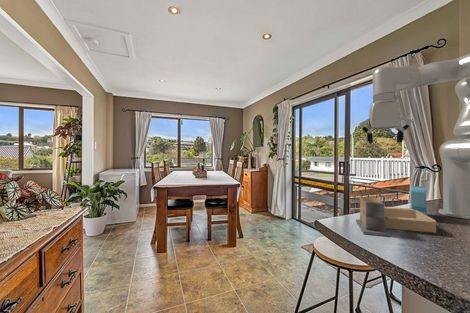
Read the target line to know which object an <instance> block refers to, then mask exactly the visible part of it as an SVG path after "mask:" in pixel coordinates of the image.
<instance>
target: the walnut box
mask: <svg viewBox="0 0 470 313" xmlns="http://www.w3.org/2000/svg"><path fill="white" fill-rule="evenodd" d="M384 207H385V203H383V202H382V201H380V199H378V198H376V197H361V196H359V220H360V222H361V223H362V224H363V226H364V227H365V229H366V230H372V231H382V232H384V229H385V228H384Z"/></svg>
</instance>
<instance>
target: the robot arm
mask: <svg viewBox="0 0 470 313" xmlns="http://www.w3.org/2000/svg"><path fill="white" fill-rule="evenodd" d="M460 79H461V80H460ZM457 80H459V81H458V82H457V83H456V84H455V85H454V86H455V87H454V88H455V89H454V92H455V94H456V95H457V97H458V99H459V101H460V102H461V104H462V106H461V107H462V108H461V112H460V113H459V116H458V118H457V120H456V122H455V125H454V128H453V132H452V133H453V135H454V137H455V138H457V139H451V140H446V141H445V142H443V143H442V144H441V145H440V146H439V148H438V150H439V151H438V153H439V156H440V160H441V165H442V200H443V201H442V203H443V204H442V206H443V208H439V209H438V213H439V214H441V215H444V216H446V217H447V216H448V217H453V218H459V219H466V220H470V52H469V53H466V54H464V55H462V56H460V57H457V58H453V59H448V60H440V61H434V62H429V63H427V64H424V65H421V66H419V67H416V66H415V65H414V66H413V65H403V66H396V67H393V66H384V67H379V68H377V69H375V70H374V71H373V73H372V103H371V104H370V107H369V111H368V112H369V113H368V118H367V119H366V120H364V121H363V120H362V122H360V123H359V124H358V125H359V127H360V128H361V131H364V133H365V134H366V142H368V144H369V145H370V144H372V143H373V139H374V138H373V133H372V132H373V131H374V130H384V129H385V130H386V129H395V130H396V131H397V132H396V143H397V144H398V143H399V144H401V143H402V142H403V141H404V132H405V131H406V130H407V129H408V128H409V127H410V126H411V123H412V122H413V121H412V119H410V118H406V117H404V116H402V114H401V108H400V103H399V100H401V95H398V94H397V92H402V91H405V90H406V91H407V90H411V89H415V88H421V87H426V86H429V85H433V84H434V85H435V84H440V83H446V82H451V81H452V82H453V81H457ZM397 100H398V101H397ZM402 122H403V123H404V125H403V126H402ZM366 124H368V128H367V127H366Z"/></svg>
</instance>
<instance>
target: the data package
mask: <svg viewBox="0 0 470 313" xmlns="http://www.w3.org/2000/svg"><path fill="white" fill-rule="evenodd" d="M410 209H414V210H417V211H419V212H421V213H423V214H425V215H427V216H428V212H427V190H426V188H425V186H420V185H419V186H415V185H411V186H410Z"/></svg>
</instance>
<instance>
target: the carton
mask: <svg viewBox="0 0 470 313" xmlns="http://www.w3.org/2000/svg"><path fill="white" fill-rule="evenodd" d="M437 223H438V221H437V220H436V219H434V218H432V217H431V216H428V214H427V215H425V214H423V213H421V212H419V211H417V210H414V209H411V208H408V207H407V208H406V207H405V208H404V207H393V206H392V207H390V206H389V207H388V206H384V229H392V230H394V229H395V230H401V231H413V232H423V233H435V234H437Z"/></svg>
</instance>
